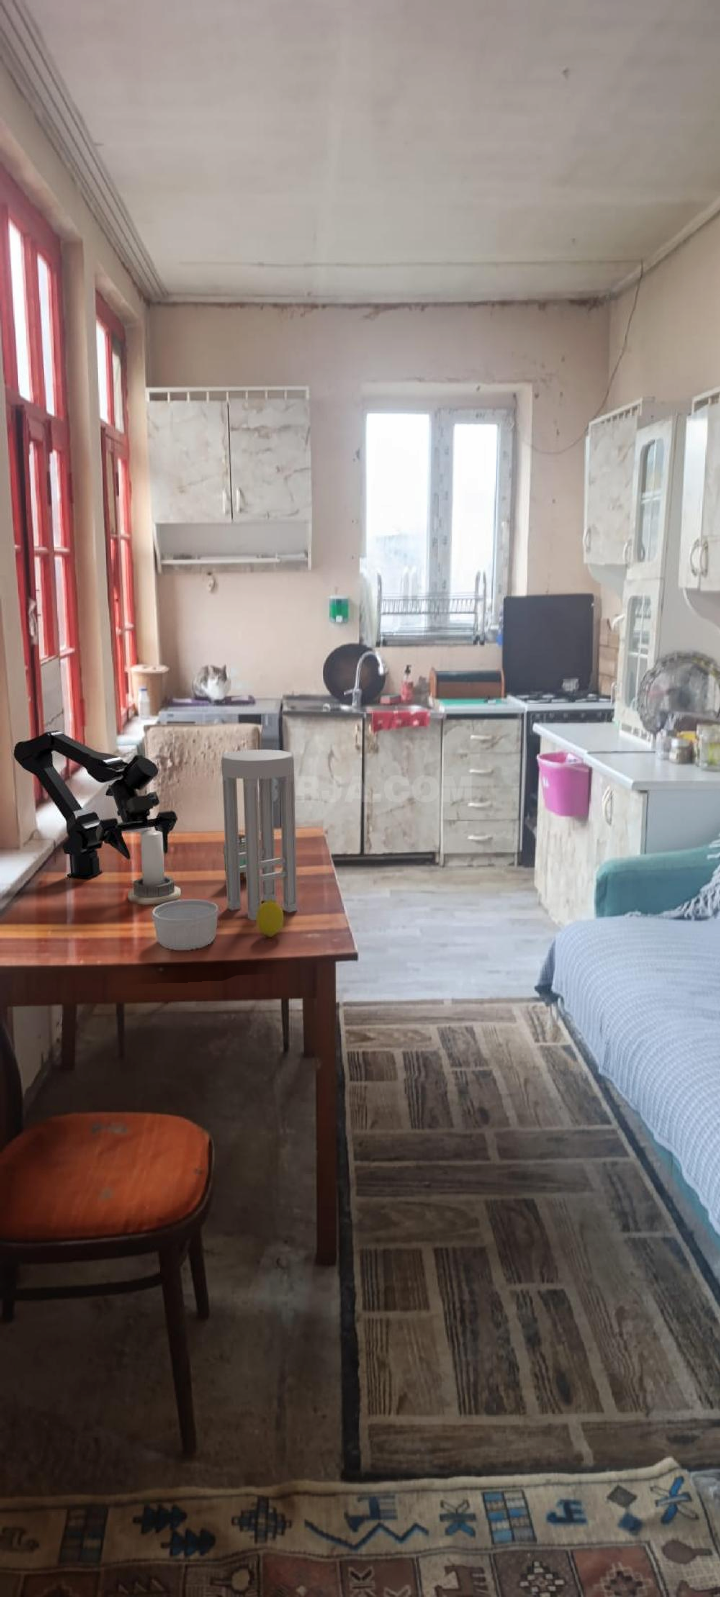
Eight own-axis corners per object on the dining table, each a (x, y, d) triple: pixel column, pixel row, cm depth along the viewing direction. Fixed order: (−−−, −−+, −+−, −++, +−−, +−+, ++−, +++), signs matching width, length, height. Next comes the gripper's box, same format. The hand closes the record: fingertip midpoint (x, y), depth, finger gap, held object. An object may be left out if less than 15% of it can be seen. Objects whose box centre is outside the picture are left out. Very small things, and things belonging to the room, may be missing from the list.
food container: (248, 887, 239) (247, 846, 237) (224, 885, 240) (222, 845, 238) (263, 873, 250) (262, 834, 248) (240, 872, 252) (239, 833, 250)
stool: (214, 907, 223) (208, 753, 216) (273, 894, 232) (269, 747, 225) (249, 925, 211) (244, 762, 204) (310, 911, 220) (307, 755, 213)
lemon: (257, 933, 206) (256, 896, 204) (283, 932, 206) (283, 895, 205) (256, 942, 200) (255, 904, 199) (284, 941, 201) (283, 903, 199)
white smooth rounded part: (138, 893, 230) (134, 835, 227) (150, 887, 235) (147, 829, 232) (157, 896, 228) (154, 836, 225) (170, 889, 233) (167, 831, 230)
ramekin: (182, 958, 192) (180, 923, 191) (140, 943, 201) (138, 910, 199) (232, 940, 202) (231, 907, 201) (190, 926, 210) (189, 895, 209)
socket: (117, 901, 228) (117, 885, 227) (147, 887, 239) (146, 872, 238) (162, 906, 224) (162, 891, 223) (190, 892, 235) (189, 877, 234)
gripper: (97, 786, 227) (117, 842, 220) (172, 777, 237) (194, 831, 231) (87, 813, 235) (106, 868, 228) (161, 803, 245) (181, 856, 239)
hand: (148, 855), depth 231 cm, fingers open, 9 cm apart
